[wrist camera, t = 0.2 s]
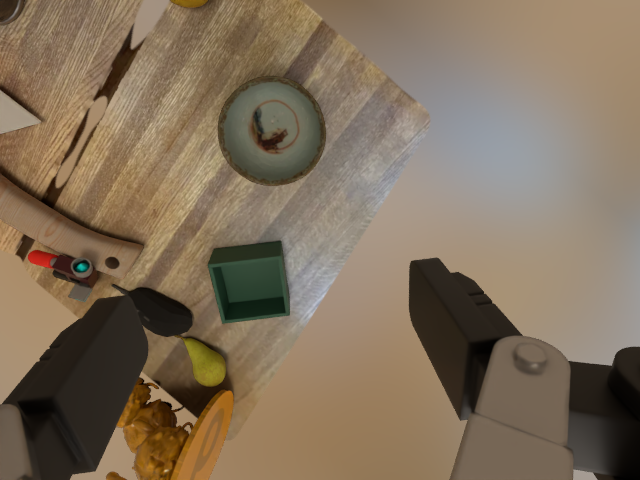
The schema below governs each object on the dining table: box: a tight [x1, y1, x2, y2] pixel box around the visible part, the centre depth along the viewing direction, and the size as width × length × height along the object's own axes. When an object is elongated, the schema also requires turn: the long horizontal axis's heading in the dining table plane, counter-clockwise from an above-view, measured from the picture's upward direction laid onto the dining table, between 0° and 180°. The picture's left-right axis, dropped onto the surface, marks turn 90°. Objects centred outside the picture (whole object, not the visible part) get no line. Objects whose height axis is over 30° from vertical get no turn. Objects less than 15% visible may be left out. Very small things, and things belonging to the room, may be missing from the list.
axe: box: [0, 90, 144, 279], centre depth 54 cm, size 18×5×30 cm
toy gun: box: [28, 250, 98, 302], centre depth 55 cm, size 10×12×5 cm
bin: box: [208, 241, 290, 324], centre depth 62 cm, size 11×11×6 cm
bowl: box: [218, 76, 326, 186], centre depth 51 cm, size 14×13×8 cm
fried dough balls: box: [106, 377, 234, 480], centre depth 68 cm, size 22×23×25 cm
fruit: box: [174, 335, 226, 387], centre depth 68 cm, size 6×6×12 cm
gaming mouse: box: [112, 284, 193, 337], centre depth 63 cm, size 6×15×4 cm, turn 52°
